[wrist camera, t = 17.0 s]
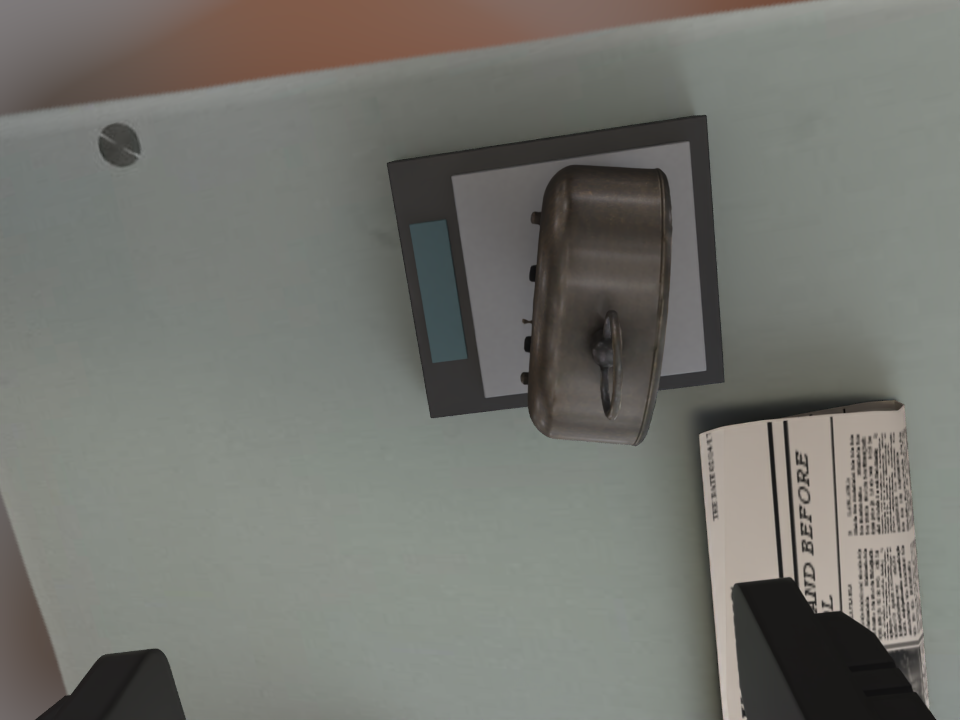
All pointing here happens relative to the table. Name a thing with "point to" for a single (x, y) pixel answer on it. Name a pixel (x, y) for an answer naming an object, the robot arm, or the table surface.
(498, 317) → the scale
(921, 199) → the table surface
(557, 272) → the alarm clock
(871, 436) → the newspaper
